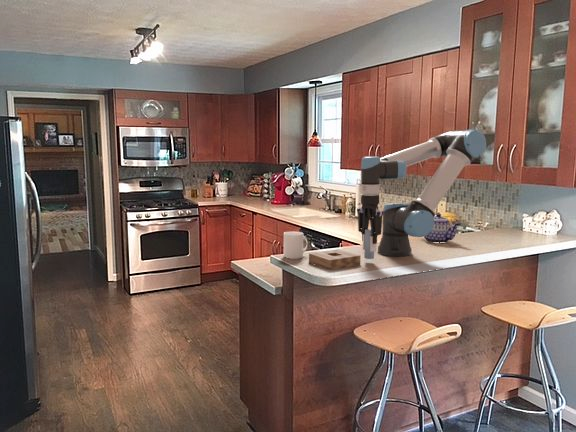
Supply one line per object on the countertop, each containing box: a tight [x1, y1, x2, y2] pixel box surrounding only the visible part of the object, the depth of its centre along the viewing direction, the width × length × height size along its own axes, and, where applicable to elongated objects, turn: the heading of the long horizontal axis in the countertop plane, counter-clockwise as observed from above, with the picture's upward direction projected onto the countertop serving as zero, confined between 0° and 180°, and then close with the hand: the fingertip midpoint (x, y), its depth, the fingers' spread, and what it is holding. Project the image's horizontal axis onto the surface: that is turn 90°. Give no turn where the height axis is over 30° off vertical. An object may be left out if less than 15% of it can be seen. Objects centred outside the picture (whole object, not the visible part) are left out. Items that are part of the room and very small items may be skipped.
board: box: [308, 248, 361, 271], centre depth 203 cm, size 16×14×4 cm
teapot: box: [423, 212, 461, 243], centre depth 252 cm, size 25×15×15 cm, turn 37°
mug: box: [283, 231, 309, 260], centre depth 215 cm, size 9×12×11 cm
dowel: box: [364, 228, 375, 260], centre depth 205 cm, size 4×4×12 cm
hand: (369, 250), depth 205 cm, fingers closed on dowel, 4 cm apart
